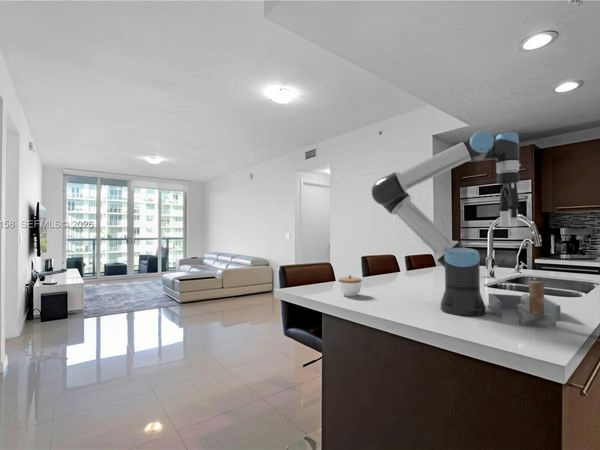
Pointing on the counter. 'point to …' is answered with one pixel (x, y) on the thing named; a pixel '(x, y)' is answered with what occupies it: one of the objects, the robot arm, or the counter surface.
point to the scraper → (537, 309)
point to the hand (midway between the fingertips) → (508, 226)
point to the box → (512, 300)
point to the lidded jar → (350, 286)
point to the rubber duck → (524, 303)
